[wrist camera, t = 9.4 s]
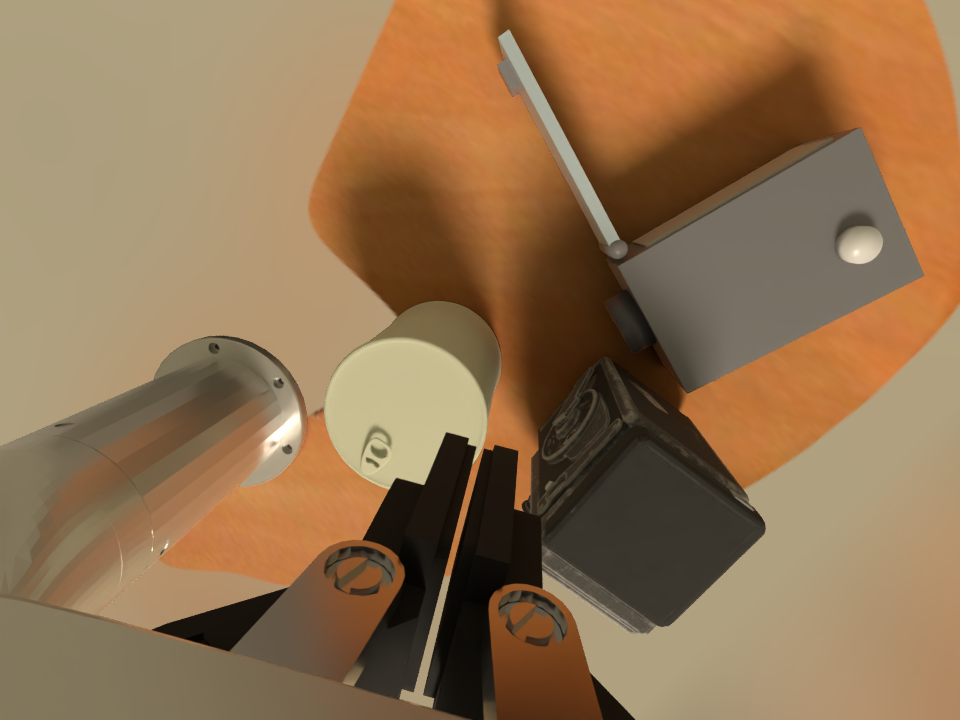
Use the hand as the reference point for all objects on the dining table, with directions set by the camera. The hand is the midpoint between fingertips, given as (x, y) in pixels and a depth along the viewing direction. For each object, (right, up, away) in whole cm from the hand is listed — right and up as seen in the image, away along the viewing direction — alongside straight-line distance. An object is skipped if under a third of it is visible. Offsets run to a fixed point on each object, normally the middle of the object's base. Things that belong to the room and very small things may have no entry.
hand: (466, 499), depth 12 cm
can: (-3, +3, +28) cm, 28 cm away
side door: (+6, +16, +23) cm, 29 cm away
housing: (+17, +10, +24) cm, 31 cm away
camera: (+9, -2, +28) cm, 30 cm away
